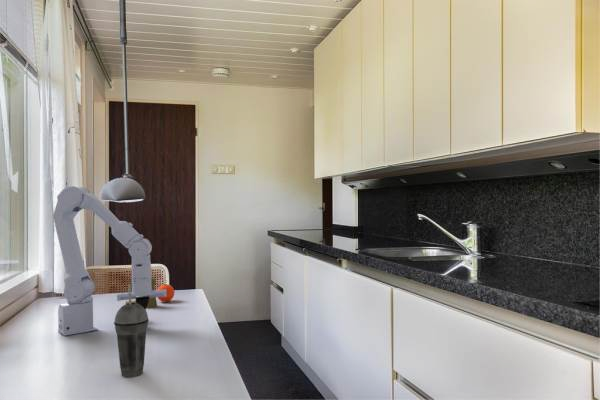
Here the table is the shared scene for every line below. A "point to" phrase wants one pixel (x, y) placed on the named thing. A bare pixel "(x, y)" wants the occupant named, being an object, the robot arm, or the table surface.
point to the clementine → (169, 292)
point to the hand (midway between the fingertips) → (143, 321)
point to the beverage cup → (131, 337)
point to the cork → (152, 300)
